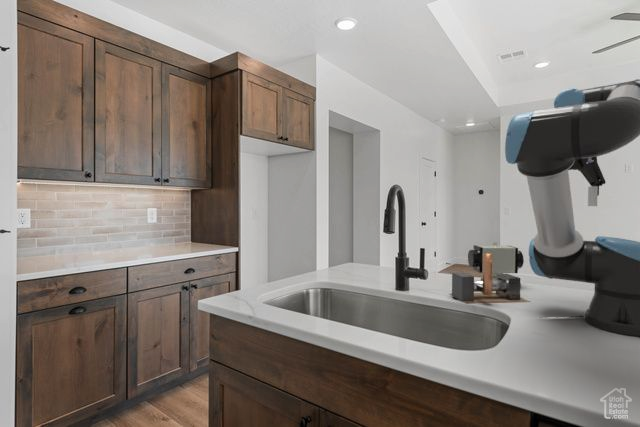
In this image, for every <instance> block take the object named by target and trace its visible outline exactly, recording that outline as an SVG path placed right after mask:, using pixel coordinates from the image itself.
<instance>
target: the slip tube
mask: <svg viewBox="0 0 640 427" xmlns="http://www.w3.org/2000/svg"><path fill="white" fill-rule="evenodd" d="M482 277H483V281H480V280H474V293H483V295H486V296H492V293H493V292H496V291H506V280H493V254H492V253H483V273H482ZM521 289H522V283H521V282H520V290H521Z"/></svg>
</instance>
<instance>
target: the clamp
mask: <svg viewBox="0 0 640 427" xmlns="http://www.w3.org/2000/svg"><path fill="white" fill-rule="evenodd" d="M496 280H506V291H495V293H496V295H498V296H500V297H503V298H505V299H507V300H520V298H521V289H520V283H521V277H518V276H515V275H511V274H510V273H503V274H496Z"/></svg>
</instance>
